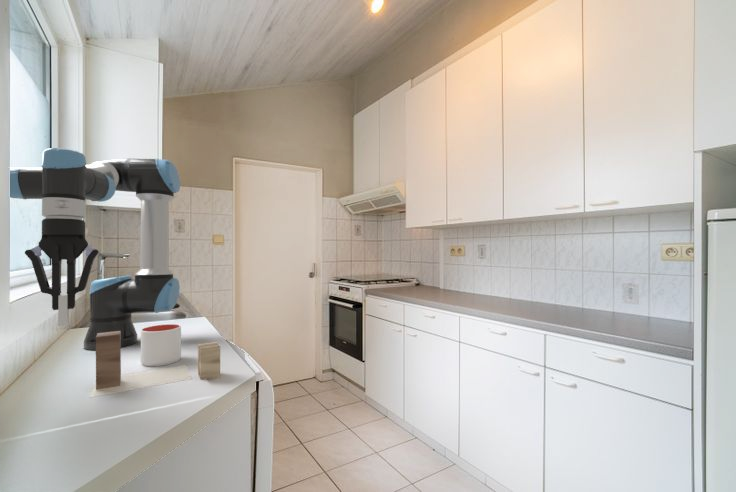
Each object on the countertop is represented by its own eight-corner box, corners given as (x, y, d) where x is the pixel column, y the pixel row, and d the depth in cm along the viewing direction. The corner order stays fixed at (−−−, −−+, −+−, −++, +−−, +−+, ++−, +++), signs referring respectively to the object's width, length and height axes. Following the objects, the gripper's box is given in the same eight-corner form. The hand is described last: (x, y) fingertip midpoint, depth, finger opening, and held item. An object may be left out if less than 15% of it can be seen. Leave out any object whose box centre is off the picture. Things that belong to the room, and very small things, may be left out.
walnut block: (97, 384, 86) (97, 333, 86) (120, 380, 89) (120, 330, 89) (96, 390, 82) (95, 336, 82) (119, 386, 85) (119, 334, 85)
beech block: (198, 375, 92) (197, 344, 92) (216, 372, 95) (216, 341, 95) (200, 381, 88) (200, 348, 89) (220, 377, 91) (220, 345, 91)
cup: (188, 357, 108) (188, 324, 108) (166, 368, 98) (166, 332, 98) (156, 357, 109) (156, 324, 109) (132, 368, 99) (132, 331, 99)
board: (95, 381, 89) (95, 379, 89) (186, 366, 100) (186, 364, 100) (89, 399, 78) (89, 397, 78) (191, 380, 89) (191, 378, 89)
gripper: (20, 215, 75) (19, 330, 74) (98, 218, 82) (98, 323, 81) (29, 219, 81) (28, 324, 81) (101, 221, 88) (101, 318, 88)
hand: (63, 324), depth 81 cm, fingers closed
